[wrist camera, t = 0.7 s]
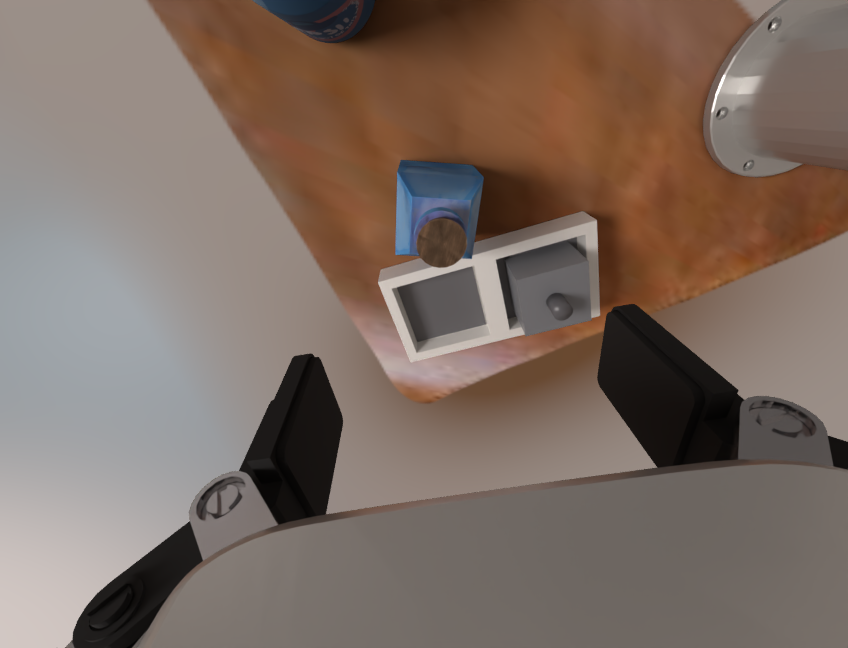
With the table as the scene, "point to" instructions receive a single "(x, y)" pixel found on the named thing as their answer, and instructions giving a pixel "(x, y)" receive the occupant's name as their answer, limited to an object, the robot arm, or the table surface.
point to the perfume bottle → (437, 211)
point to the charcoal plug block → (549, 288)
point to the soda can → (322, 16)
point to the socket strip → (476, 289)
